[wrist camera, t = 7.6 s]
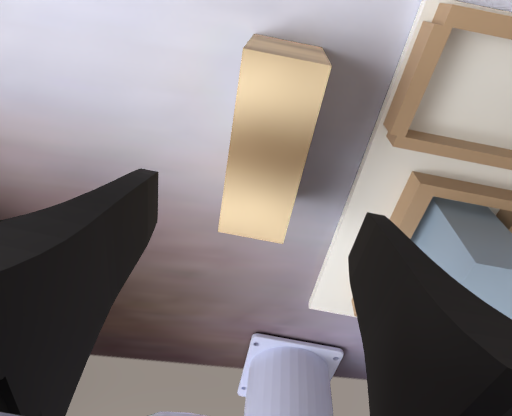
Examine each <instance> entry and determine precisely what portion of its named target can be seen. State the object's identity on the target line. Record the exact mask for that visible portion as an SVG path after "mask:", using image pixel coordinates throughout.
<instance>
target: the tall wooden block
mask: <svg viewBox="0 0 512 416" xmlns="http://www.w3.org/2000/svg"><path fill="white" fill-rule="evenodd" d="M331 67H332V65H331V63H330V62H329V60H328V58H327V56H326V54H325V52H324V50H323V48H322V47H317V46H312V45H307V44H302V43H297V42H292V41H288V40H283V39H278V38H273V37H268V36H263V35H258V34H254V35H253V36H252V37H251V39H250V40H249V41H248V42H247V44H246V45H245V46H244V48H243V53H242V60H241V67H240V74H239V82H238V89H237V96H236V103H235V111H234V118H233V125H232V132H231V140H230V147H229V154H228V161H227V169H226V176H225V183H224V191H223V198H222V205H221V212H220V220H219V227H218V232H222V233H228V234H233V235H238V236H244V237H249V238H254V239H260V240H265V241H270V242H276V243H281V244H283V242H284V238H285V235H286V231H287V227H288V224H289V220H290V217H291V213H292V209H293V206H294V202H295V198H296V195H297V191H298V187H299V184H300V180H301V176H302V173H303V169H304V166H305V162H306V158H307V155H308V151H309V147H310V144H311V140H312V136H313V133H314V129H315V125H316V122H317V118H318V115H319V111H320V107H321V104H322V100H323V96H324V93H325V89H326V85H327V82H328V78H329V74H330V71H331Z"/></svg>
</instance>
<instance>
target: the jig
mask: <svg viewBox="0 0 512 416" xmlns="http://www.w3.org/2000/svg"><path fill="white" fill-rule="evenodd" d="M433 197H438V198H444V199H449V200H455V201H460V202H465V203H471V204H476V205H481V206H486V207H488V208H489V209H490V210H491V211H492V212H493V213H494V214H495V215H496V217H497V218H498V219H499V220H500V221H501V222H502V223H503V224H504V225H505V227H506V228H507V229H508V230H509V231H510V232H511V233H512V12H508V11H503V10H498V9H493V8H488V7H484V6H479V5H474V4H469V3H464V2H460V1H455V0H422V1H421V4H420V7H419V9H418V12H417V15H416V17H415V20H414V23H413V25H412V28H411V31H410V33H409V36H408V39H407V41H406V44H405V47H404V50H403V52H402V55H401V58H400V60H399V63H398V66H397V68H396V71H395V74H394V76H393V79H392V82H391V84H390V87H389V90H388V92H387V95H386V98H385V100H384V103H383V106H382V108H381V111H380V114H379V116H378V119H377V122H376V124H375V127H374V130H373V132H372V135H371V138H370V140H369V143H368V146H367V148H366V151H365V154H364V156H363V159H362V162H361V164H360V167H359V170H358V172H357V175H356V178H355V180H354V183H353V186H352V188H351V191H350V194H349V196H348V199H347V202H346V204H345V207H344V210H343V212H342V215H341V218H340V220H339V223H338V226H337V228H336V231H335V234H334V236H333V239H332V242H331V244H330V247H329V250H328V252H327V255H326V258H325V260H324V263H323V266H322V268H321V271H320V274H319V276H318V279H317V282H316V284H315V287H314V290H313V292H312V295H311V298H310V300H309V309H315V310H320V311H325V312H331V313H336V314H342V315H347V316H352V317H357V314H356V310H355V305H354V301H353V296H352V291H351V286H350V280H349V266H348V256H349V254H350V251H351V249H352V247H353V244H354V242H355V239H356V237H357V235H358V232H359V230H360V228H361V225H362V223H363V221H364V218H365V216H366V213H367V212H369V213H374V214H379V215H384V216H386V217H387V218H388V219H390V220H391V221H392V222H393V223H394V224H395V225H396V226H397V227H398V228H399V229H400V230H401V231H402V232H403V233H404V234H405V235H406V236H407V237H408V238H410V239H411V237H412V235H413V233H414V232H415V230H416V228H417V226H418V224H419V222H420V220H421V218H422V216H423V215H424V213H425V211H426V209H427V207H428V205H429V203H430V201H431V200H432V198H433Z"/></svg>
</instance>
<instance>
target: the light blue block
mask: <svg viewBox="0 0 512 416" xmlns="http://www.w3.org/2000/svg"><path fill="white" fill-rule="evenodd" d="M411 240H412V241H413V242H414V243H415V244H416V245H417V246H418V247H419V248H420V249H421V250H422V251H423V252H424V253H425V254H426V255H427V256H428V257H430V258H431V259H432V260H433V261H434V262H435V263H436V264H437V265H438V266H440V267H441V268H442V269H443V270H444V271H445V272H447V273H448V274H449V275H450V276H451V277H453V278H454V279H455V280H456V281H458V282H459V283H460V284H461V285H463V286H464V287H465V288H467V289H468V290H469V291H471V292H472V293H473V294H475V295H476V296H477V297H479V298H480V299H482V300H483V301H484V302H486V303H487V304H489V305H490V306H492V307H493V308H495V309H496V310H498V311H499V312H501V313H503V314H504V315H506V316H507V317H509V318H510V319H512V233H511V232H510V231H509V230H508V229H507V228H506V227H505V225H504V224H503V223H502V222H501V221H500V220H499V219H498V218H497V217H496V215H495V214H494V213H493V212H492V211H491V210H490V209H489V208H488V207H486V206H481V205H476V204H471V203H465V202H460V201H455V200H449V199H444V198H438V197H433V198H432V200H431V201H430V203H429V205H428V207H427V209H426V211H425V213H424V215H423V216H422V218H421V220H420V222H419V224H418V226H417V228H416V230H415V232H414V233H413V235H412V237H411Z"/></svg>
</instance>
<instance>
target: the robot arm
mask: <svg viewBox="0 0 512 416" xmlns="http://www.w3.org/2000/svg"><path fill="white" fill-rule="evenodd" d="M157 215H158V172H156V171H150V170H145V169H138V170H135V171H133V172H131V173H129V174H127V175H125V176H122V177H120V178H118V179H116V180H114V181H112V182H110V183H108V184H106V185H103V186H101V187H99V188H97V189H95V190H93V191H90V192H88V193H85V194H83V195H81V196H78V197H76V198H73V199H71V200H68V201H66V202H63V203H61V204H58V205H55V206H52V207H49V208H46V209H42V210H39V211H36V212H33V213H29V214H26V215H22V216H17V217H13V218H9V219H5V220H1V221H0V416H65V415H66V413H67V410H68V407H69V404H70V402H71V399H72V397H73V394H74V392H75V390H76V387H77V384H78V382H79V380H80V377H81V375H82V372H83V370H84V367H85V365H86V362H87V360H88V358H89V356H90V353H91V351H92V349H93V346H94V344H95V342H96V339H97V337H98V335H99V332H100V330H101V328H102V326H103V324H104V322H105V319H106V317H107V315H108V313H109V311H110V308H111V306H112V304H113V303H114V301H115V299H116V297H117V295H118V293H119V292H120V290H121V288H122V287H123V285H124V283H125V282H126V280H127V278H128V277H129V275H130V274H131V272H132V270H133V269H134V267H135V265H136V264H137V262H138V260H139V258H140V257H141V255H142V253H143V252H144V250H145V248H146V247H147V245H148V243H149V240H150V238H151V236H152V233H153V231H154V228H155V226H156V223H157ZM348 266H349V280H350V286H351V291H352V296H353V301H354V305H355V310H356V314H357V319H358V323H359V328H360V332H361V337H362V342H363V348H364V354H365V363H366V373H367V383H368V395H369V407H370V416H512V319H510V318H509V317H507V316H506V315H504V314H503V313H501V312H499V311H498V310H496V309H495V308H493V307H492V306H490V305H489V304H487V303H486V302H484V301H483V300H482V299H480V298H479V297H477V296H476V295H475V294H473V293H472V292H471V291H469V290H468V289H467V288H465V287H464V286H463V285H461V284H460V283H459V282H458V281H456V280H455V279H454V278H453V277H451V276H450V275H449V274H448V273H447V272H445V271H444V270H443V269H442V268H441V267H440V266H438V265H437V264H436V263H435V262H434V261H433V260H432V259H431V258H430V257H428V256H427V255H426V254H425V253H424V252H423V251H422V250H421V249H420V248H419V247H418V246H417V245H416V244H415V243H414V242H413V241H412V240H411V239H410V238H408V237H407V236H406V235H405V234H404V233H403V232H402V231H401V230H400V229H399V228H398V227H397V226H396V225H395V224H394V223H393V222H392V221H391V220H390V219H388V218H387V217H386V216H384V215H379V214H374V213H369V212H367V213H366V216H365V218H364V221H363V223H362V225H361V228H360V230H359V232H358V235H357V237H356V239H355V242H354V244H353V247H352V249H351V251H350V254H349V256H348ZM343 355H344V354H343V350H342V349H340V348H335V347H330V346H324V345H319V344H313V343H308V342H302V341H297V340H292V339H286V338H281V337H275V336H270V335H264V334H259V333H256V334H253V335H252V338H251V342H250V346H249V349H248V353H247V357H246V361H245V365H244V368H243V372H242V376H241V380H240V384H239V388H238V395H240V396H243V397H246V403H245V411H244V416H333V408H332V398H331V388H330V380H331V379H332V377H333V375H334V373H335V371H336V369H337V367H338V365H339V363H340V361H341V359H342V358H343ZM148 416H206V415H201V414H195V413H187V412H157V413H154V414H151V415H148Z"/></svg>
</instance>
